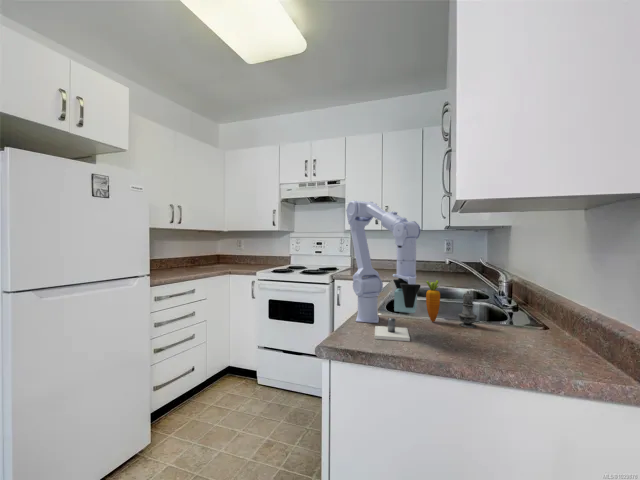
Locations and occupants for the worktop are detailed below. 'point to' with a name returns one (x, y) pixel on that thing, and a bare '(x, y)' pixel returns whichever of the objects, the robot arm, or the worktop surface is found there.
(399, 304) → the sleeve
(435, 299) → the carrot
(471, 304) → the grey chess piece
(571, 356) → the worktop surface
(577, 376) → the worktop surface
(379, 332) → the post base
